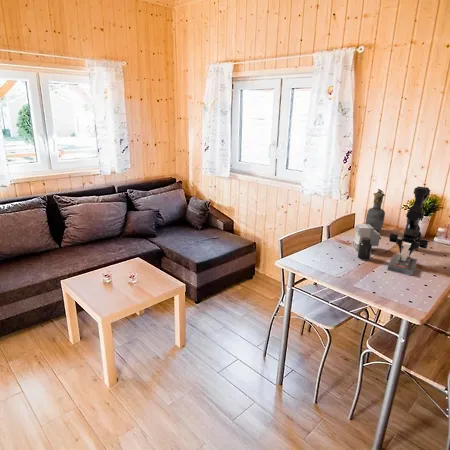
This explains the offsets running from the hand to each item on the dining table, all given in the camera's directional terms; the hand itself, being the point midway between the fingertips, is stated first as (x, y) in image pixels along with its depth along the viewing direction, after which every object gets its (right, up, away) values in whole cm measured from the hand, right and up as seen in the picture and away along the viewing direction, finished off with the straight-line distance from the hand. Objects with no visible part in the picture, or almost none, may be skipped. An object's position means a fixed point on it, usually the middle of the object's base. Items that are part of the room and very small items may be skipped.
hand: (404, 254), depth 187 cm
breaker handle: (+1, -3, +2) cm, 4 cm away
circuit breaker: (-11, +1, +25) cm, 27 cm away
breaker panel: (-1, -7, +1) cm, 7 cm away
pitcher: (+7, +12, +57) cm, 59 cm away
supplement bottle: (-17, -3, +12) cm, 21 cm away
